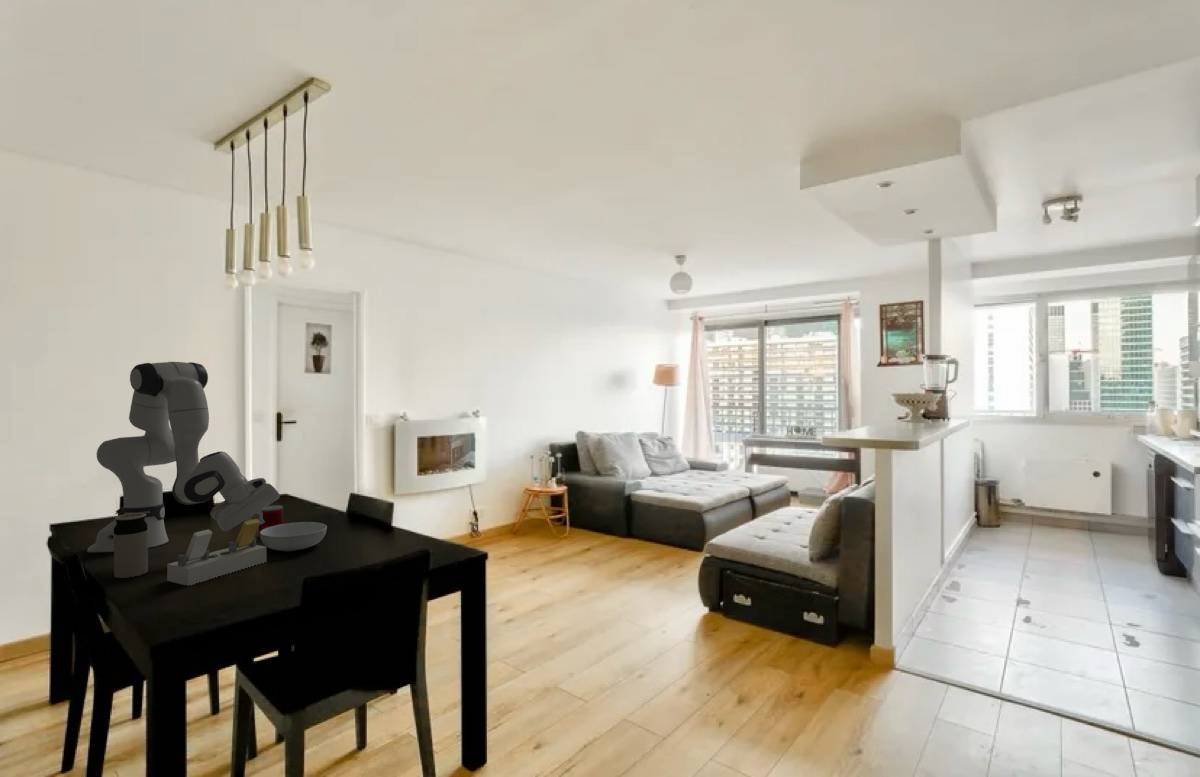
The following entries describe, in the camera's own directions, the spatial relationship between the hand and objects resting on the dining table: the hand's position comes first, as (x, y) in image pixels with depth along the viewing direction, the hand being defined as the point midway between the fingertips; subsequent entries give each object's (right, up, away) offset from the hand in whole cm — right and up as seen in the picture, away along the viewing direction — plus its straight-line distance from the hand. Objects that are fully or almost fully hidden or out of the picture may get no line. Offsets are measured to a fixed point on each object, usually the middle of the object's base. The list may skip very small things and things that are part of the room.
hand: (260, 524), depth 207 cm
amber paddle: (+6, -2, -19) cm, 20 cm away
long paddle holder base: (+2, -8, -26) cm, 27 cm away
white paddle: (-1, -2, -33) cm, 33 cm away
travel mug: (-22, -9, -29) cm, 38 cm away
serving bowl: (+12, -8, -1) cm, 15 cm away
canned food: (-4, -8, +14) cm, 17 cm away
